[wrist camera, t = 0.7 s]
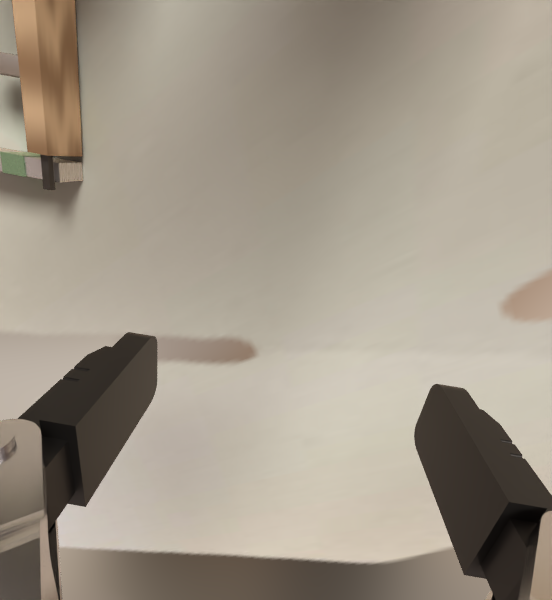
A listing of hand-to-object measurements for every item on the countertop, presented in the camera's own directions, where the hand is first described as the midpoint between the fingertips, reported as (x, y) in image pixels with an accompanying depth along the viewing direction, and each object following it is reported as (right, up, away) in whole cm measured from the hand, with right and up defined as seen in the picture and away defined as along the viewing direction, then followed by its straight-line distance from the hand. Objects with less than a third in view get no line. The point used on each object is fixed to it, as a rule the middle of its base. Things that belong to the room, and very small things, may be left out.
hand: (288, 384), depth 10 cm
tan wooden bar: (-20, +20, +20) cm, 35 cm away
